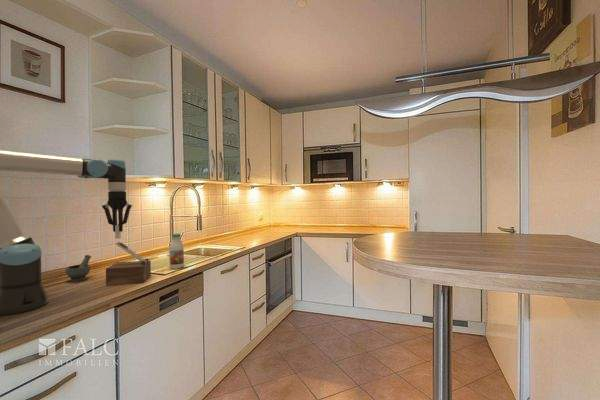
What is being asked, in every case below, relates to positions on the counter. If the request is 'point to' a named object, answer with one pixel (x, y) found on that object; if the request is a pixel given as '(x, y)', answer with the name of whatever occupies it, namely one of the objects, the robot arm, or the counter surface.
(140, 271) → the crate
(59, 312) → the counter surface
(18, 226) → the robot arm
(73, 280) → the mortar and pestle
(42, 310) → the counter surface
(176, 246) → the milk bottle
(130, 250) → the clasp bar
